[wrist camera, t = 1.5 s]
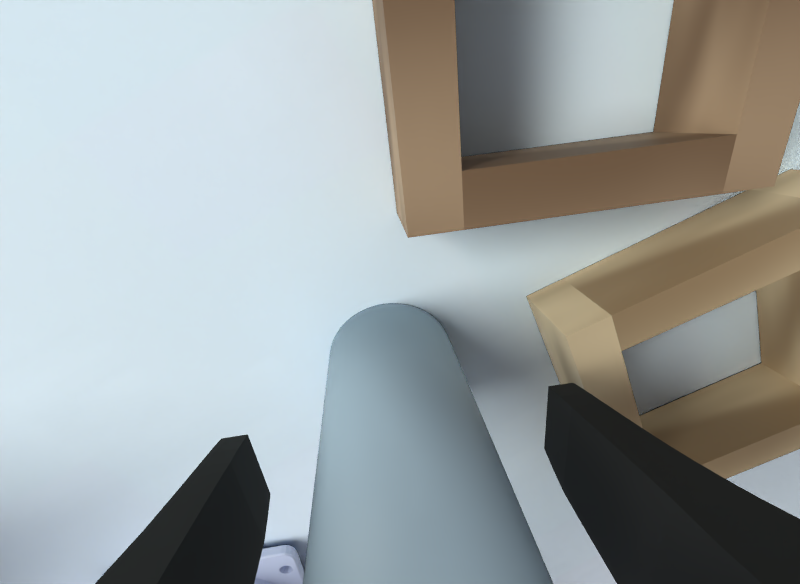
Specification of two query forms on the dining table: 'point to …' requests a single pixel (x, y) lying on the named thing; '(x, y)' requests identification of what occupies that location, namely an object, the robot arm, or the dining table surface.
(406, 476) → the thick gray cylindrical peg
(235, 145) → the dining table surface
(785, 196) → the light wooden square frame
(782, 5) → the wooden square ring
